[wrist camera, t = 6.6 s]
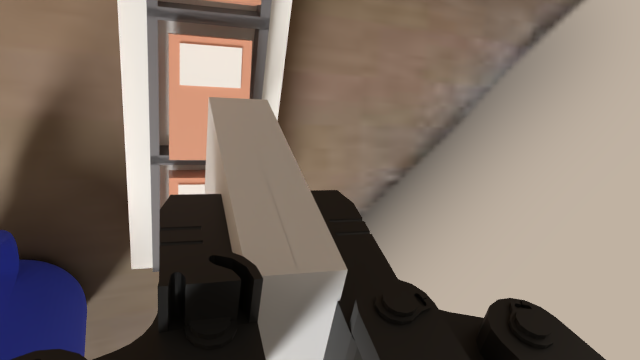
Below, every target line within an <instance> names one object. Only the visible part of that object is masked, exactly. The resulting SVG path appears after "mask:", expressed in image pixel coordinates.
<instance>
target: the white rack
mask: <svg viewBox="0 0 640 360" xmlns="http://www.w3.org/2000/svg"><path fill="white" fill-rule="evenodd" d="M117 2H118V21H119V40H120V58H121V77H122V96H123V115H124V134H125V153H126V172H127V191H128V210H129V229H130V248H131V267H132V269H141V268H153V272H157V271H159V231H160V209H161V207H162V206H163V204H164V203H165V202H166V200H167V199H168V198H169V170H206V160H169V57H168V33H178V34H190V35H201V36H213V37H224V38H236V39H247V40H250V41H252V57H251V78H250V99H262V100H268V102H269V104H270V106H271V109H272V111H273V113H274V115H275V117H276V119H277V121H278V113H279V104H280V96H281V88H282V80H283V72H284V64H285V55H286V47H287V39H288V31H289V23H290V15H291V7H292V0H261V5H256V6H251V5H242V4H232V3H223V2H214V1H205V0H117Z"/></svg>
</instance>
